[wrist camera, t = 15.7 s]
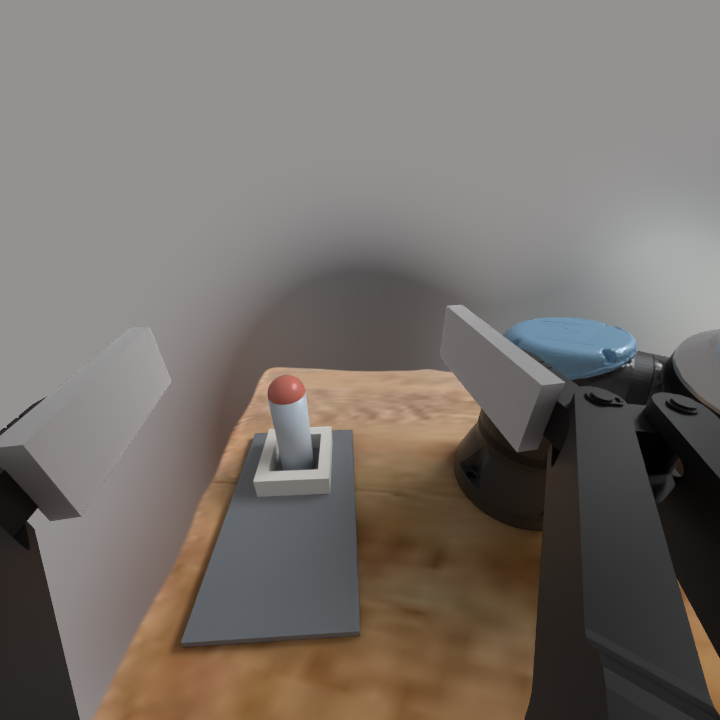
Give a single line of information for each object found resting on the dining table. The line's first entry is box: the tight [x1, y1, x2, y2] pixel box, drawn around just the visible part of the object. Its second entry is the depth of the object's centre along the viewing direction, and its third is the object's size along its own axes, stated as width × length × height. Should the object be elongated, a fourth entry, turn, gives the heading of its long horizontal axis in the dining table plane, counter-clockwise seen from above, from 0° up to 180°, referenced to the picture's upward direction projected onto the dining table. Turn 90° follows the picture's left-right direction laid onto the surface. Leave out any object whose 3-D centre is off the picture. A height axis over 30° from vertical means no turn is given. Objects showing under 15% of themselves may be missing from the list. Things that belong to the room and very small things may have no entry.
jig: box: [181, 426, 360, 647], centre depth 37 cm, size 26×16×4 cm, turn 3°
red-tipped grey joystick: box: [268, 375, 314, 471], centre depth 39 cm, size 4×4×15 cm
